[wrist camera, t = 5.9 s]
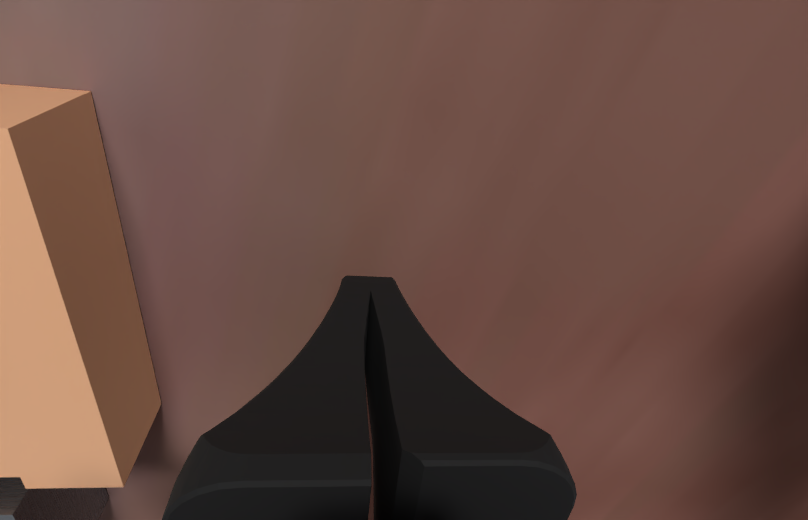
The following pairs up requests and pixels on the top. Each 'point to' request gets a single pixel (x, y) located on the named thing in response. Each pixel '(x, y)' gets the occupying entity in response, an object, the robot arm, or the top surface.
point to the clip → (66, 302)
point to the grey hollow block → (49, 502)
